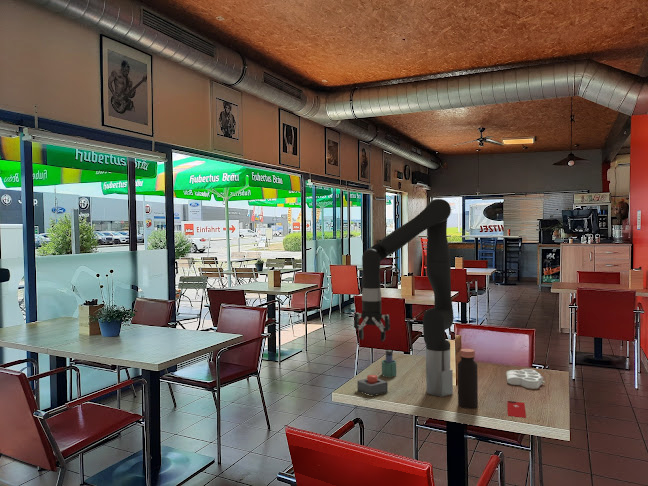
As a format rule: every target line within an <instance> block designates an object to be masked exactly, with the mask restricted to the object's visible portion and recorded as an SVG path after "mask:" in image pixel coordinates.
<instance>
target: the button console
mask: <svg viewBox="0 0 648 486" xmlns="http://www.w3.org/2000/svg"><path fill="white" fill-rule="evenodd" d="M388 385H389V384H388V381H385V380H383V379H380V378H378V377H377V383H374V384H370V383H367V378H364V379H358V380H357V385H356V386H357V387H356V388H357V391H358V392H359V391H361V392H360V393H362V392H363V393H362V394H364V393H366V394H369V395H375V396H377V395H376V394H379V395H382V394H381V393H383V394H386V392H387V393H389V391H388ZM366 394H365V395H366ZM369 395H368V396H369Z"/></svg>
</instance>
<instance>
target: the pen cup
mask: <svg viewBox="0 0 648 486" xmlns="http://www.w3.org/2000/svg"><path fill="white" fill-rule="evenodd" d="M382 375H384V376H383V377H385V376H387V377H386V378H393V377H392V376H395V377H397V360H395V359H393V363H386V359H384V360H383V359H382V361H381V376H382Z"/></svg>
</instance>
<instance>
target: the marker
mask: <svg viewBox="0 0 648 486" xmlns="http://www.w3.org/2000/svg"><path fill="white" fill-rule="evenodd" d="M393 358H394V357H393V350H392V349H387V350H385V360H386V363H393V360H394V359H393Z"/></svg>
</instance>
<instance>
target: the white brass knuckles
mask: <svg viewBox="0 0 648 486" xmlns="http://www.w3.org/2000/svg"><path fill="white" fill-rule="evenodd" d="M543 379H544V376H542V374H541V373H539V372H537V370H535V369H532V368H531V369H530V368H522V369H519V370H518V369H511V370H507V371H506V381H507V382H506V383H508V384H509V385H515V386H516V385H517V386H522V387H523V388H527V389H531V390H532V389H533V390H534V389H539V388H540V386H542V385H543V384H544V383H546V381H544V380H543Z"/></svg>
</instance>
